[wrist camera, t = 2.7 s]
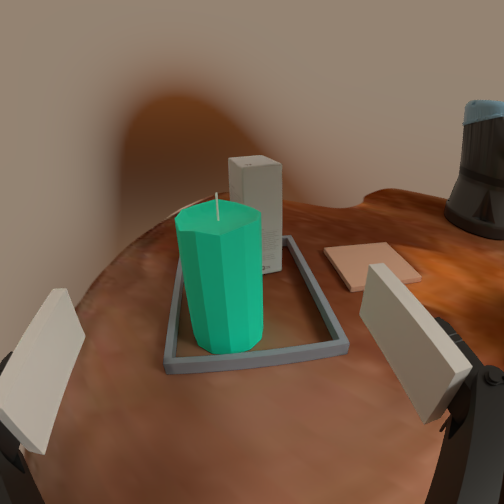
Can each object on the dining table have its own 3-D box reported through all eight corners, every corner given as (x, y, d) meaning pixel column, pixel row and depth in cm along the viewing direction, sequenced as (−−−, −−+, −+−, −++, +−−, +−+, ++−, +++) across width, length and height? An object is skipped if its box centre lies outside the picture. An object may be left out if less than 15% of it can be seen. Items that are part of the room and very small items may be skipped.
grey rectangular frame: (290, 243, 41) (290, 235, 40) (347, 353, 23) (349, 343, 22) (182, 252, 39) (181, 244, 39) (166, 374, 21) (162, 363, 21)
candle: (194, 312, 28) (176, 185, 23) (257, 306, 29) (254, 179, 24) (193, 358, 23) (166, 211, 18) (269, 351, 24) (268, 202, 18)
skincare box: (283, 271, 34) (283, 163, 29) (246, 278, 33) (240, 167, 28) (265, 248, 40) (262, 154, 34) (232, 254, 39) (226, 157, 33)
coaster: (385, 246, 39) (385, 242, 39) (420, 281, 31) (421, 276, 31) (323, 252, 38) (323, 247, 38) (350, 292, 30) (351, 287, 30)
